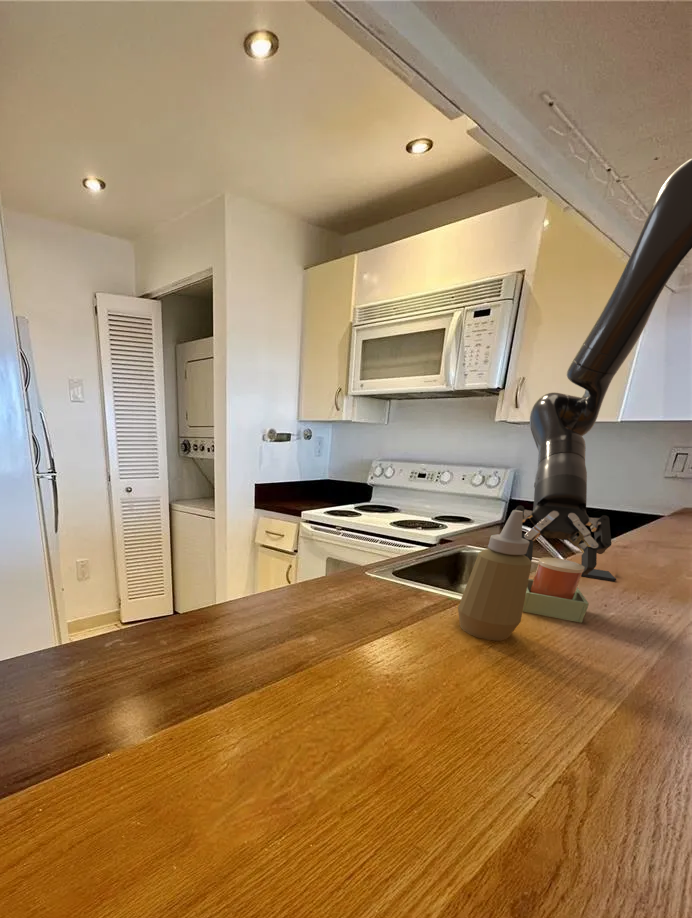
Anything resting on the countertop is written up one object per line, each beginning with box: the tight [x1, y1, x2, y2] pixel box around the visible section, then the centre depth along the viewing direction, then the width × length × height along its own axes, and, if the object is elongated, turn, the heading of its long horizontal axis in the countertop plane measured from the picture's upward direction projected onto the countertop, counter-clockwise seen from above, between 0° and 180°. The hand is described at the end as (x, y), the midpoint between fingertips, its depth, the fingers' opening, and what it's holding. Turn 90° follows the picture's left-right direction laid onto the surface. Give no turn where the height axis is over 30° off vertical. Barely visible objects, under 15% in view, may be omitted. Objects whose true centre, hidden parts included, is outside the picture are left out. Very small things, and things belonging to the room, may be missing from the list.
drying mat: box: [581, 568, 617, 582], centre depth 101 cm, size 7×6×1 cm
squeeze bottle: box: [457, 509, 532, 642], centre depth 64 cm, size 8×8×18 cm
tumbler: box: [530, 556, 585, 600], centre depth 76 cm, size 6×6×8 cm
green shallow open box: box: [522, 578, 590, 623], centre depth 77 cm, size 8×8×4 cm
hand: (556, 567), depth 76 cm, fingers open, 8 cm apart
